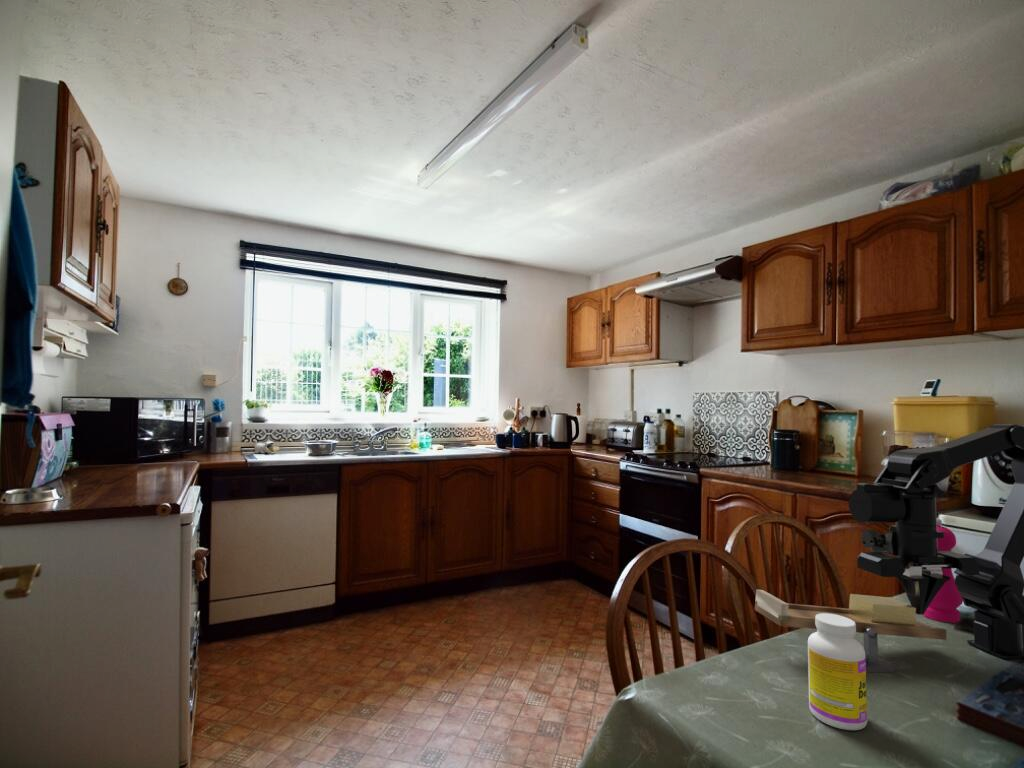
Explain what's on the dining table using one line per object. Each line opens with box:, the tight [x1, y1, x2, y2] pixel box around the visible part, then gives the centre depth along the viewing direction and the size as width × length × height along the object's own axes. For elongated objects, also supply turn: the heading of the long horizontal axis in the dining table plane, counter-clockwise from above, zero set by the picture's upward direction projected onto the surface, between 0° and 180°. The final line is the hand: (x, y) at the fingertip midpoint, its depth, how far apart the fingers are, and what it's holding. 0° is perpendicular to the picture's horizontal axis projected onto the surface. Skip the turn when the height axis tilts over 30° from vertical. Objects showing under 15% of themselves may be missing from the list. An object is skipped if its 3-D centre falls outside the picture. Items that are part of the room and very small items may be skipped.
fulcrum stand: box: [825, 606, 897, 674], centre depth 88 cm, size 6×12×6 cm, turn 7°
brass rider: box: [848, 593, 917, 626], centre depth 89 cm, size 8×5×4 cm, turn 97°
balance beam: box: [754, 589, 948, 641], centre depth 88 cm, size 30×7×4 cm, turn 97°
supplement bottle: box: [807, 613, 868, 731], centre depth 70 cm, size 7×7×13 cm
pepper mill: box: [922, 517, 964, 624], centre depth 106 cm, size 7×7×20 cm
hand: (918, 613), depth 90 cm, fingers closed
